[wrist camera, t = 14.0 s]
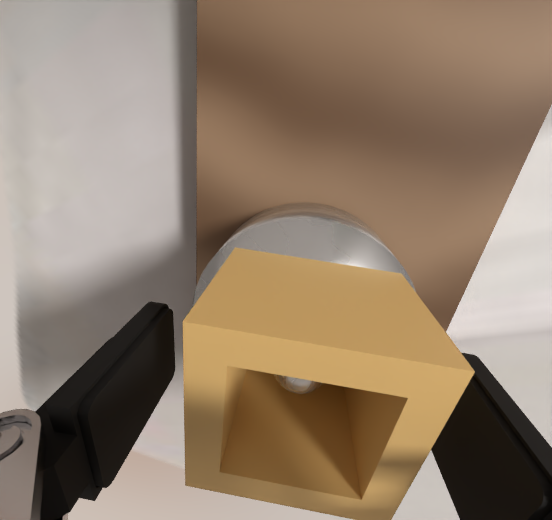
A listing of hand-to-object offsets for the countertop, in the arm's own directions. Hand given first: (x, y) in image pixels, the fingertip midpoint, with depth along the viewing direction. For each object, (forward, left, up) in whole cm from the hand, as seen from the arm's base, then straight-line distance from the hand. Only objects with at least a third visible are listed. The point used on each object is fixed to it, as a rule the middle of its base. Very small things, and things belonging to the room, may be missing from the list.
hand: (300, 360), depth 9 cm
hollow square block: (0, 0, -2) cm, 2 cm away
